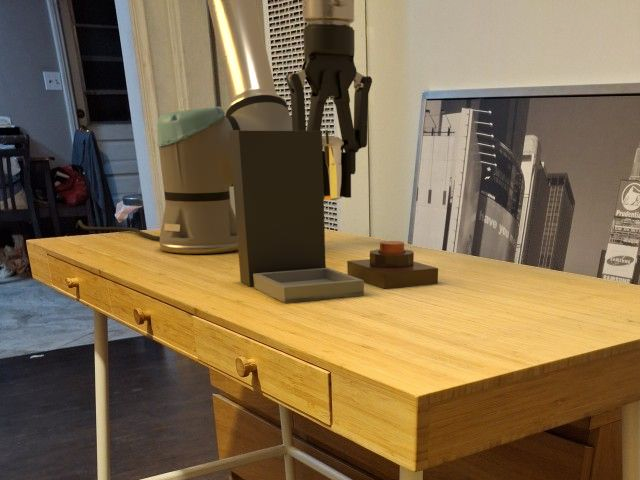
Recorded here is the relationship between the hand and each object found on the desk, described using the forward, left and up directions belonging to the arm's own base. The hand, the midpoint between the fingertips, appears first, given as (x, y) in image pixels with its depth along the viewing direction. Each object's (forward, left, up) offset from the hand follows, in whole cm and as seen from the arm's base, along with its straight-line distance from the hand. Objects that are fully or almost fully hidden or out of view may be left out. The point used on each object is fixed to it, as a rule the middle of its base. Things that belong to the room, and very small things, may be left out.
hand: (331, 197), depth 121 cm
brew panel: (+16, +2, -10) cm, 20 cm away
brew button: (+16, +2, -7) cm, 18 cm away
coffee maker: (+17, -13, -10) cm, 24 cm away
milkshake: (0, 0, -1) cm, 1 cm away
